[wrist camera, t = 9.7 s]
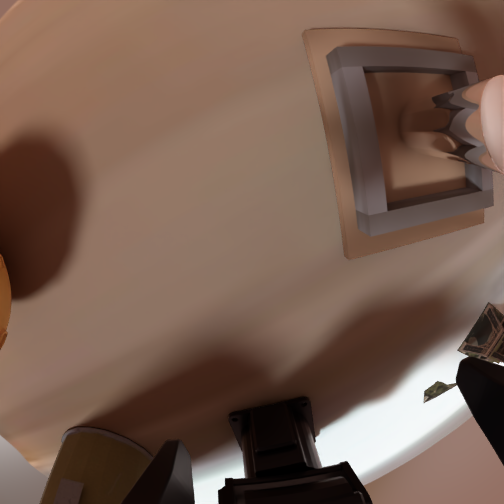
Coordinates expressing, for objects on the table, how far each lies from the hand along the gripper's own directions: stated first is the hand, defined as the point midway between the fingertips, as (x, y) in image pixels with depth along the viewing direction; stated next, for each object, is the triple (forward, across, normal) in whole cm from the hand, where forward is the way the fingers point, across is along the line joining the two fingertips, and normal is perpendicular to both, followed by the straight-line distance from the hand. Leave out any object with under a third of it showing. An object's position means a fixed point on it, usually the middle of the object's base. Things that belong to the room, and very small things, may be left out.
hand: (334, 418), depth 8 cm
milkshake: (+11, -11, -7) cm, 17 cm away
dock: (+12, -10, -7) cm, 17 cm away
